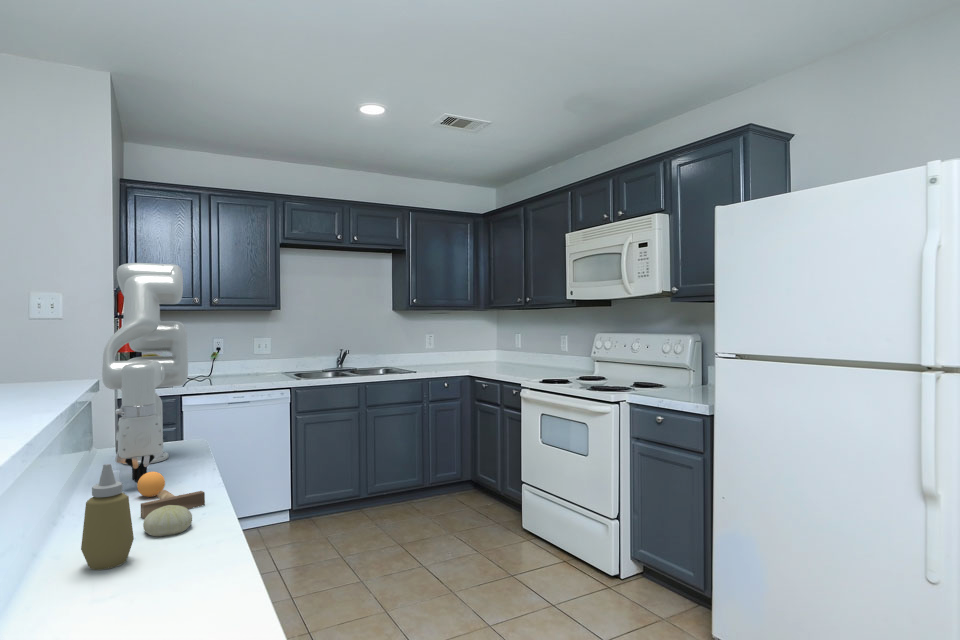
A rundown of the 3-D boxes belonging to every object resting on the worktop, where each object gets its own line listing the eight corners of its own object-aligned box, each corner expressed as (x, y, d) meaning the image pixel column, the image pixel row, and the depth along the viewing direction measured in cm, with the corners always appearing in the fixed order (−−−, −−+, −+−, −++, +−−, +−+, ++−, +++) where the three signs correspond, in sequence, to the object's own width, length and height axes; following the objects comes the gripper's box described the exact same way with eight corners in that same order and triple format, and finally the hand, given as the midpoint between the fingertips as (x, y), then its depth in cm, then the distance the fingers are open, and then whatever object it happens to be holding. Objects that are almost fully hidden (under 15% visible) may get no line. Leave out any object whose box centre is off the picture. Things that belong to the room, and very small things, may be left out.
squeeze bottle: (95, 577, 101) (94, 473, 101) (72, 567, 106) (71, 466, 105) (143, 560, 108) (142, 462, 108) (119, 551, 112) (118, 457, 112)
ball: (149, 492, 141) (144, 506, 144) (172, 479, 146) (167, 493, 149) (134, 474, 142) (129, 488, 145) (157, 462, 147) (152, 476, 150)
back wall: (140, 516, 131) (140, 503, 131) (201, 503, 140) (201, 490, 140) (143, 519, 130) (143, 505, 130) (204, 505, 139) (204, 492, 139)
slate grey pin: (108, 507, 138) (108, 470, 138) (120, 505, 139) (120, 469, 139) (107, 510, 136) (106, 473, 136) (119, 508, 137) (118, 472, 137)
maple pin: (166, 488, 144) (178, 495, 138) (169, 496, 144) (181, 505, 138) (156, 492, 142) (168, 500, 136) (159, 501, 143) (171, 510, 137)
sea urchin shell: (203, 513, 129) (188, 495, 123) (189, 549, 123) (172, 532, 117) (164, 511, 129) (146, 493, 124) (147, 547, 124) (128, 530, 118)
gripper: (109, 416, 144) (110, 491, 145) (175, 409, 155) (175, 479, 155) (101, 413, 150) (102, 485, 150) (165, 406, 160) (165, 473, 161)
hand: (139, 482), depth 153 cm, fingers closed
